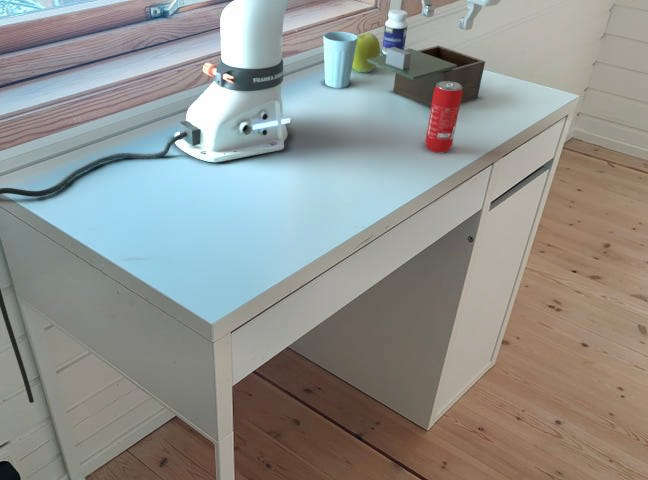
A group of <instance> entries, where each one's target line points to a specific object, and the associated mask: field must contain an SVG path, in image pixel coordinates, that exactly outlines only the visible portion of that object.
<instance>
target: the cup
mask: <svg viewBox="0 0 648 480" xmlns="http://www.w3.org/2000/svg"><path fill="white" fill-rule="evenodd" d="M357 36H358V35H356V34H354V33H352V32H347V31H329V32H326V33H324V34H323V57H324V58H323V59H324V60H323V61H324V62H323V63H324V81H325V82H324V83H325V85H326V86H328V87H330V88H334V89H342V88H347V87H349V84H350V79H351V76H352V75H351V74H352V71H353V70H352V69H353V67H352V65H353V60H354V55H355V50H356V45H357V40H358V37H357Z"/></svg>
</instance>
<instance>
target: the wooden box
mask: <svg viewBox="0 0 648 480" xmlns="http://www.w3.org/2000/svg"><path fill="white" fill-rule="evenodd" d="M417 51H419V52H422V53H425V54H427V55H430V56H433V57H436V58H439V59H441V60H444V61H447V62H450V63H453V64H456V65H457V68H454V69H451V70H447V71H444V72H440V73H436V74H433V75H429V76H426V77H422V78H418V79H415V80H412V79H410V78H407V77H405V76H402V75H399V74H397V73H395V76H394V82H393V90H392V92H393V93H394V94H397V95H400V96H402V97H405V98H407V99H409V100H412V101H414V102H416V103H419V104H422V105H424V106H427V107H429V108H431V105H432V99H433V93H434V88H435V87H436V84H437V83H438V82H442V81H450V82H456V83H458V84H460V85H461V86H462V97H461V102H460V104H463V103H466V102H469V101H472V100H475V99H478V97H479V93H480V87H481V83H482V78H483V74H484V69H485V64H486V61H485V60H482V59H479V58H477V57H474V56H471V55H468V54H465V53H461V52H459V51H456V50H453V49H450V48H447V47H444V46H441V45H436V46H430V47H427V48H422V49H419V50H417Z"/></svg>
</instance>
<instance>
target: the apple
mask: <svg viewBox="0 0 648 480" xmlns="http://www.w3.org/2000/svg"><path fill="white" fill-rule="evenodd" d="M366 31H367V28H366V29H365V30H364V32H363V33H362V34H359V35H356V36H357V37H358V40H357V45H356V50H355V55H354V60H353V65H352V69H353V70H355V71H356V72H357V73H358V72H359V73H360V72H361V73H367V74H368V73H370V72H372V71H374V70H375V68H377V66H376V65H374V64H371V63H369V62H367V59H369V58H373V57H377V56H381V46H380V40H379V39H378V37H377V36H376V35H374V34H373V33H371V32H366Z"/></svg>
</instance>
